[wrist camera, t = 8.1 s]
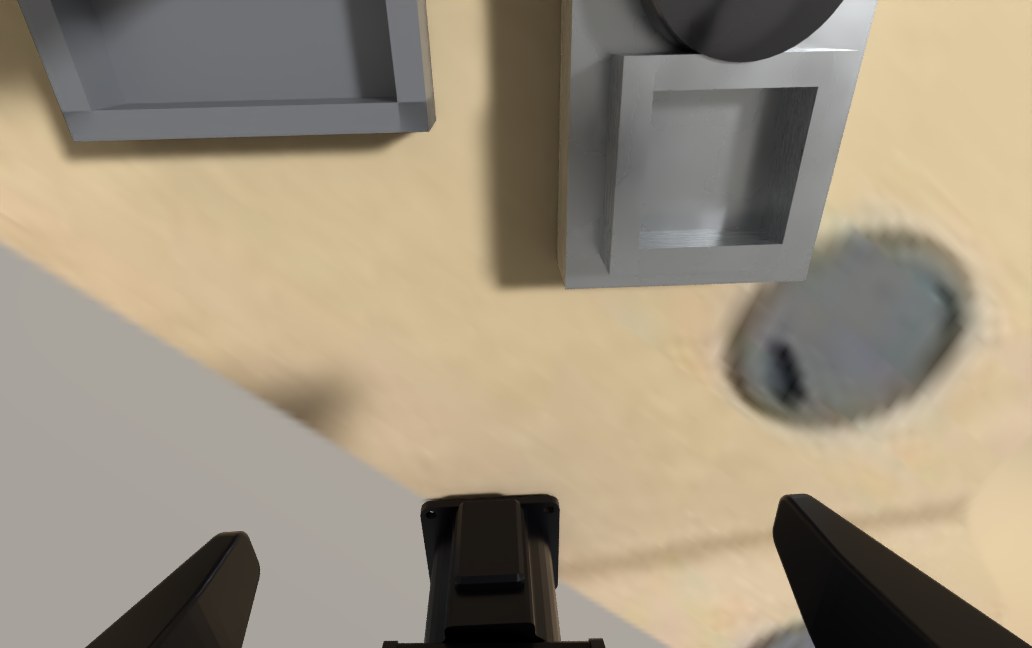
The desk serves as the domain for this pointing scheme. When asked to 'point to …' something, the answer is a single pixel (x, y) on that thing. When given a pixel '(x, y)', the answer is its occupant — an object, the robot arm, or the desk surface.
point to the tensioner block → (700, 136)
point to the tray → (235, 67)
